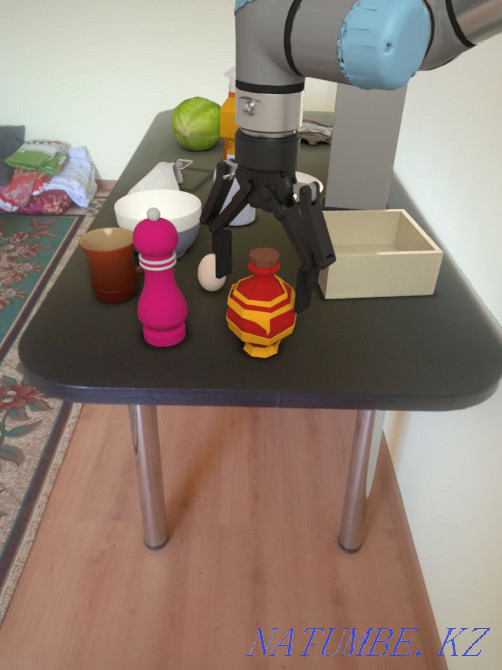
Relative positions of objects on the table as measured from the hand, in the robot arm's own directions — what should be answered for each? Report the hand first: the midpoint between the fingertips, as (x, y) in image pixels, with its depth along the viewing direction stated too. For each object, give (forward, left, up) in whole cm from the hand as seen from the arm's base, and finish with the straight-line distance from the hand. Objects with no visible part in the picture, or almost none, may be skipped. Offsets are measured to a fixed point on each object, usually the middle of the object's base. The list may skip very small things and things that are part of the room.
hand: (261, 291), depth 70 cm
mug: (+17, +21, -10) cm, 28 cm away
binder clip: (+76, +12, -10) cm, 77 cm away
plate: (+67, -11, -9) cm, 68 cm away
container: (+47, -27, -9) cm, 55 cm away
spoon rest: (+59, +16, -9) cm, 62 cm away
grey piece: (+114, -26, -9) cm, 117 cm away
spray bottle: (+88, -5, -10) cm, 88 cm away
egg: (+17, +6, -10) cm, 20 cm away
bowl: (+33, +15, -9) cm, 37 cm away
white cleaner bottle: (+48, 0, -9) cm, 49 cm away
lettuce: (+104, +6, -10) cm, 105 cm away
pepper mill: (+4, +14, -9) cm, 17 cm away
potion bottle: (0, 0, -9) cm, 9 cm away
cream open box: (+22, -22, -9) cm, 32 cm away
